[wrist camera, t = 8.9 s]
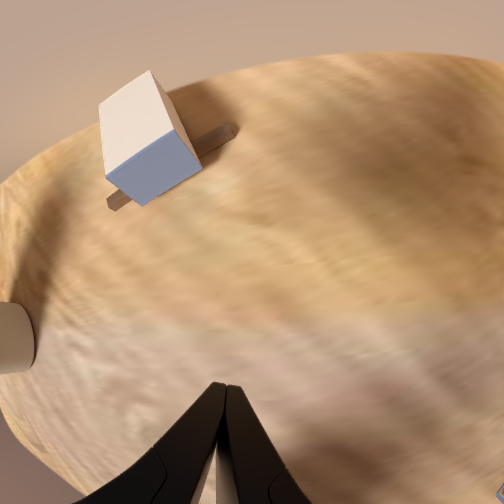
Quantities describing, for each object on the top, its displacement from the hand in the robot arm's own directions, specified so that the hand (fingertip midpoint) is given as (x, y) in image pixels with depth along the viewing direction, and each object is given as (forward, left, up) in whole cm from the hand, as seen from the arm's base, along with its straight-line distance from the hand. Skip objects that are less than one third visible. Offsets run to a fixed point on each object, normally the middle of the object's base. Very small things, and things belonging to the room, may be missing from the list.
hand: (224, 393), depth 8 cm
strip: (+4, +15, -11) cm, 20 cm away
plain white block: (+3, +13, -8) cm, 16 cm away
